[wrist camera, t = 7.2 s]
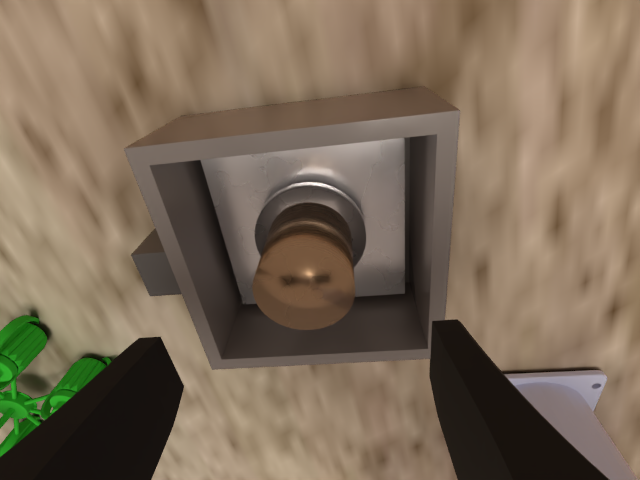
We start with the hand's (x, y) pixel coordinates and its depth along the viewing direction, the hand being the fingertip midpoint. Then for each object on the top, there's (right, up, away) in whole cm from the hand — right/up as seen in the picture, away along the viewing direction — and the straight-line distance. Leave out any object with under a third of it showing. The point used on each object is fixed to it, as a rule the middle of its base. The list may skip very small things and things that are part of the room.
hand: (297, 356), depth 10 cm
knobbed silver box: (0, +5, +8) cm, 9 cm away
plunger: (0, +4, +6) cm, 7 cm away
